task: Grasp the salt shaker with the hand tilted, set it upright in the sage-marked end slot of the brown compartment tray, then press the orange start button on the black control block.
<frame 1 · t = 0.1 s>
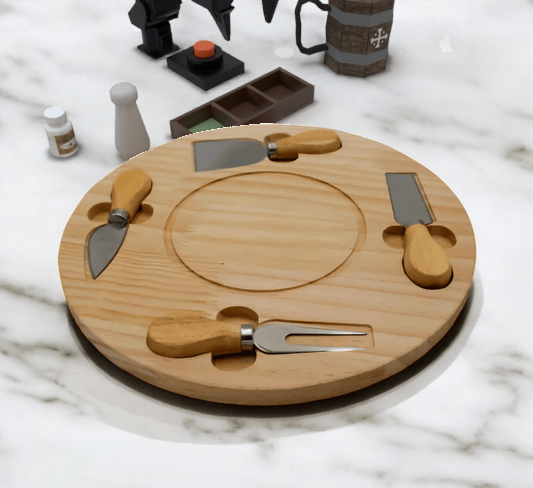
hand: (248, 31, 110), 15 cm above the worktop, tool pointing down, fingers open, 9 cm apart
mug: (340, 62, 131), on the worktop
pill bottle: (65, 151, 111), on the worktop
salt shaker: (134, 155, 110), on the worktop
start button: (204, 49, 126), point 4 cm above the worktop, slide at 0.1 cm
control block: (205, 70, 129), on the worktop
brown compartment tray: (244, 119, 117), on the worktop
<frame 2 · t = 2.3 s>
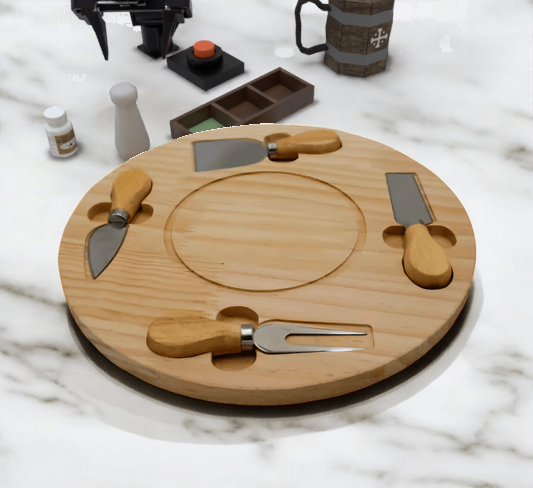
hand: (135, 59, 106), 13 cm above the worktop, tool tilted 45°, fingers open, 9 cm apart
nothing on the worktop moved.
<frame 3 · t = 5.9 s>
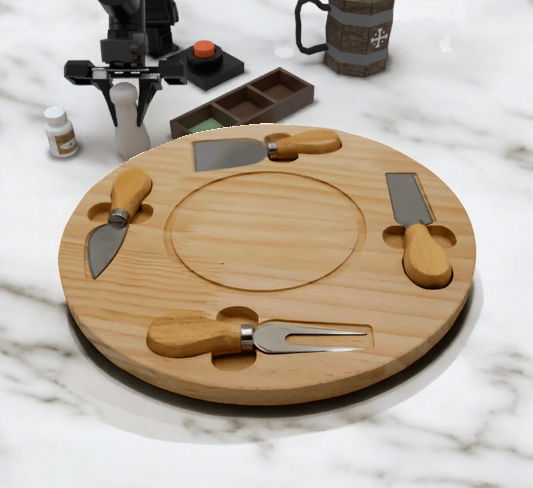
hand: (127, 126, 104), 7 cm above the worktop, tool tilted 45°, fingers closed on salt shaker, 3 cm apart
salt shaker: (134, 155, 110), on the worktop, touching gripper
everything else where it was.
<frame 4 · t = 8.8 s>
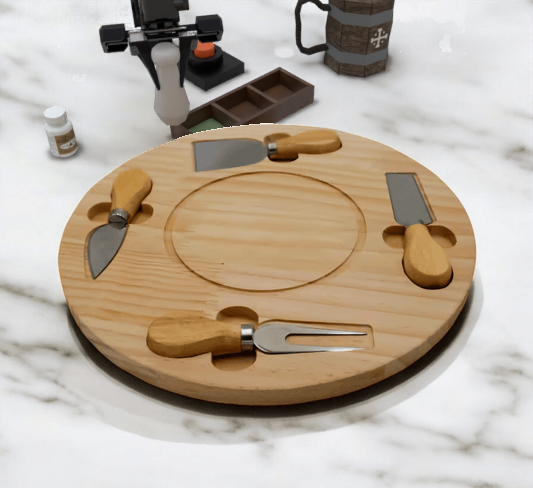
hand: (170, 88, 102), 12 cm above the worktop, tool tilted 45°, fingers closed on salt shaker, 3 cm apart
salt shaker: (173, 119, 107), point 5 cm above the worktop, touching gripper
everything else where it was.
when the fingers open (7 cm above the worktop, at t = 11.6 s): salt shaker stays where it is, resting on brown compartment tray.
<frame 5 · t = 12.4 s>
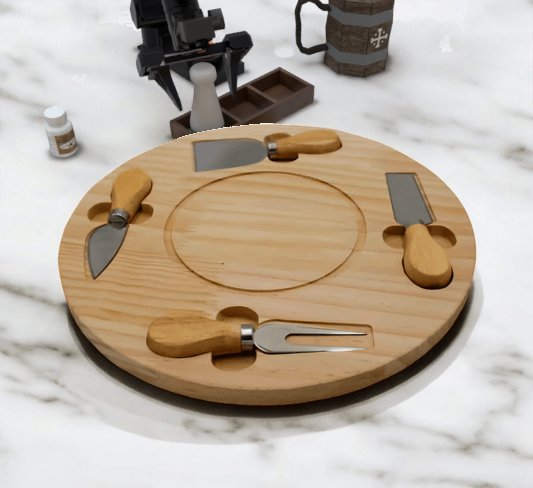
hand: (208, 104, 107), 8 cm above the worktop, tool tilted 45°, fingers open, 9 cm apart
salt shaker: (208, 135, 113), point 1 cm above the worktop, touching brown compartment tray
everything else where it was.
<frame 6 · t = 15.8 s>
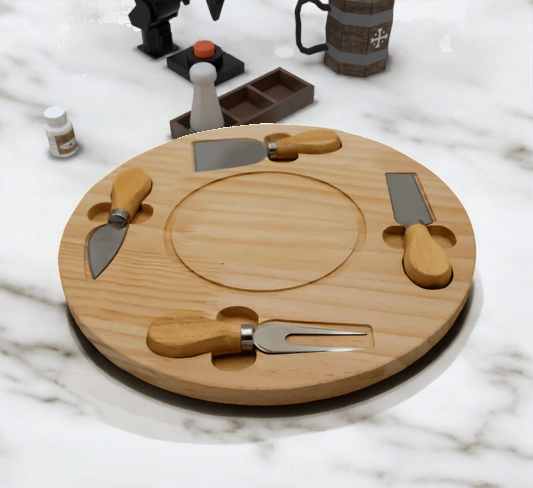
hand: (201, 12, 120), 12 cm above the worktop, tool pointing down, fingers open, 8 cm apart
nothing on the worktop moved.
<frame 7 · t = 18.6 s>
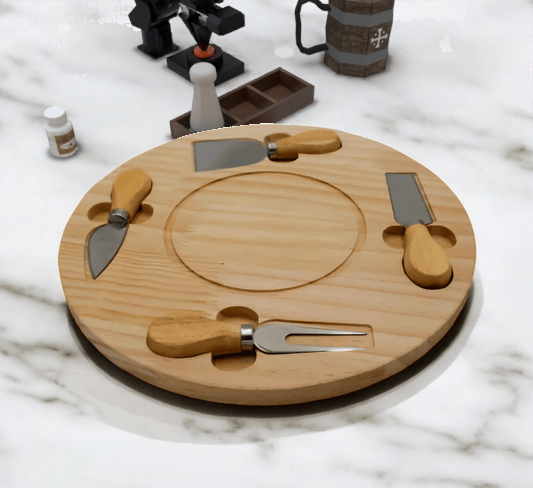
hand: (203, 49, 126), 4 cm above the worktop, tool pointing down, fingers closed, pressing on start button
start button: (204, 53, 126), point 4 cm above the worktop, slide at -0.9 cm, touching gripper
everything else where it was.
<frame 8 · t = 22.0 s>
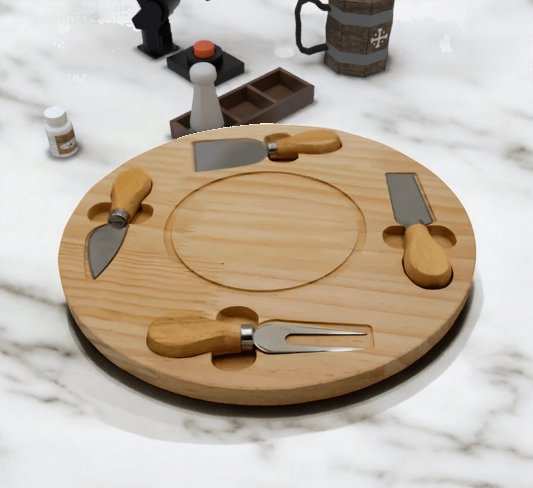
hand: (207, 0, 124), 12 cm above the worktop, tool pointing down, fingers closed
start button: (204, 49, 126), point 4 cm above the worktop, slide at 0.1 cm
everything else where it was.
at the end: salt shaker 0.2 cm from the target spot in the brown compartment tray, point 0.5 cm above the brown compartment tray's base; salt shaker tilted 0°; start button pushed in 1.2 cm at the most during the clip, back to where it started at the end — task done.
